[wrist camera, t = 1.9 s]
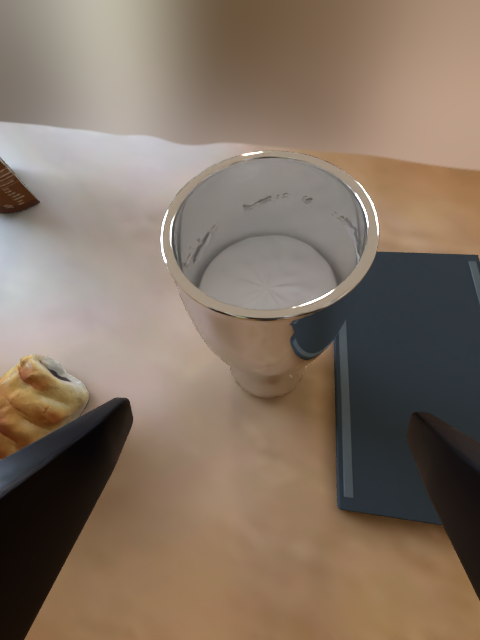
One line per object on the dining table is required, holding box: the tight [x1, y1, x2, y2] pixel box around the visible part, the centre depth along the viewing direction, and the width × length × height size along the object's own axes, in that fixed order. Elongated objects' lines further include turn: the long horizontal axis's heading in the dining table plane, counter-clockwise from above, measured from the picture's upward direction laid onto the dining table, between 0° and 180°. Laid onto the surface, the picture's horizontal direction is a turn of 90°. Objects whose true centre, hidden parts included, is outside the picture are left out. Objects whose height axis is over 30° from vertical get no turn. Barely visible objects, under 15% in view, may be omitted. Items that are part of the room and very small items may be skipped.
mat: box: [334, 252, 480, 525], centre depth 20 cm, size 20×12×1 cm, turn 173°
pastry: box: [0, 355, 89, 460], centre depth 20 cm, size 9×7×4 cm
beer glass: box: [161, 151, 380, 398], centre depth 15 cm, size 7×7×15 cm
